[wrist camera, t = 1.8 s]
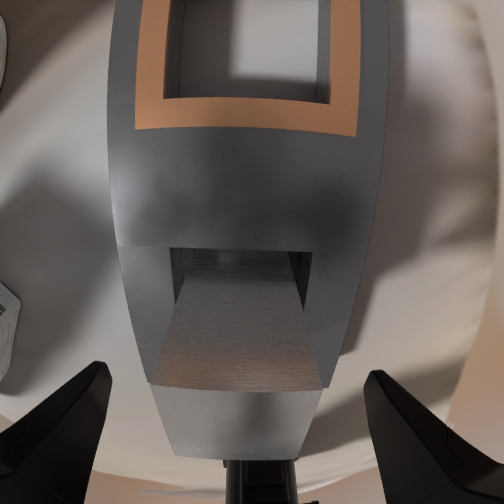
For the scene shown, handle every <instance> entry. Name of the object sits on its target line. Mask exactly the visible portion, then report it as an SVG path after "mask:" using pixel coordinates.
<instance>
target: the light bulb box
mask: <svg viewBox="0 0 504 504" xmlns="http://www.w3.org/2000/svg"><path fill="white" fill-rule="evenodd" d="M20 306H21V301H20V300H19V299H18V298H17V297H16V296H14V295H13V294H12V293H11V292H10V291H9V290H8V289H7V288H6V287H5V286H4V285H3V284H2V283H1V282H0V382H1V380H2V379H3V377H4V376H5V374H6V373H7V371H8V370H9V368H10V362H11V354H12V347H13V341H14V335H15V330H16V325H17V320H18V315H19V310H20Z"/></svg>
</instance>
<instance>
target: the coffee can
mask: <svg viewBox="0 0 504 504" xmlns="http://www.w3.org/2000/svg"><path fill="white" fill-rule="evenodd" d="M6 56H7V34H6V27H5V23H4V20H3V19H2V17H1V16H0V89H1V85H2V81H3V76H4V71H5V65H6Z"/></svg>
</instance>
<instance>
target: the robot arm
mask: <svg viewBox="0 0 504 504" xmlns="http://www.w3.org/2000/svg"><path fill="white" fill-rule="evenodd" d="M111 387H112V376H111V374H110V371H109V369H108V366H107V364H106V363H105V362H101V361H94V362H92V363H91V364H90V365H88V366H87V367H86V368H84V369H83V370H82V371H81V372H79V373H78V374H77V375H75V376H74V377H73V378H72V379H70V380H69V381H68V382H67V383H65V384H64V385H63V386H61V387H60V388H59V389H58V390H56V391H55V392H54V393H53V394H51V395H50V396H49V397H48V398H46V399H45V400H44V401H42V402H41V403H40V404H39V405H37V406H36V407H35V408H34V409H32V410H31V411H30V412H29V413H28V414H26V415H25V416H23V417H22V418H21V419H20V420H18V421H17V422H16V423H14V424H13V425H12V426H10V427H9V428H7V429H6V430H4V431H3V432H1V433H0V504H84V500H85V495H86V491H87V486H88V482H89V478H90V474H91V470H92V466H93V462H94V458H95V455H96V451H97V447H98V444H99V440H100V436H101V433H102V430H103V426H104V423H105V419H106V414H107V408H108V403H109V397H110V392H111ZM363 390H364V398H365V404H366V411H367V418H368V425H369V430H370V434H371V438H372V442H373V446H374V450H375V454H376V458H377V462H378V467H379V471H380V475H381V480H382V484H383V488H384V494H385V498H386V503H387V504H504V464H501V463H498V462H496V461H494V460H493V459H491V458H490V457H488V456H486V455H485V454H484V453H482V452H481V451H479V450H478V449H476V448H475V447H473V446H472V445H470V444H469V443H468V442H466V441H465V440H464V439H463V438H461V437H460V436H459V435H457V434H456V433H455V432H454V431H453V430H452V429H451V428H449V427H447V425H446V424H445V423H443V422H442V421H441V420H440V419H439V418H438V417H437V416H435V415H434V414H433V413H432V412H431V411H430V410H428V409H427V408H426V407H425V406H424V405H423V404H421V403H420V402H419V401H418V400H417V399H416V398H415V397H413V396H412V395H411V394H410V393H409V392H408V391H406V390H405V389H404V388H403V387H402V386H401V385H400V384H398V383H397V382H396V381H395V380H394V379H393V378H392V377H390V376H389V375H388V374H387V373H386V372H385V371H383V370H372V371H371V372H370V373H369V375H368V378H367V380H366V382H365V384H364V389H363ZM294 462H295V459H288V460H223V465H224V467H225V468H227V475H226V504H298V494H297V485H296V475H295V466H294ZM304 504H319V501H312V502H311V503H304Z"/></svg>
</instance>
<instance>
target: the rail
mask: <svg viewBox="0 0 504 504" xmlns="http://www.w3.org/2000/svg"><path fill="white" fill-rule="evenodd" d="M184 7H185V0H116V4H115V11H114V18H113V26H112V34H111V44H110V55H109V69H108V91H107V141H108V164H109V179H110V192H111V202H112V212H113V220H114V228H115V236H116V243H117V250H118V256H119V262H120V268H121V274H122V279H123V285H124V290H125V295H126V300H127V304H128V309H129V313H130V318H131V322H132V326H133V330H134V334H135V338H136V342H137V346H138V350H139V354H140V357H141V361H142V364H143V368H144V371H145V375H146V378H147V381H148V382H149V383H151V379H152V376H153V373H154V369H155V366H156V363H157V360H158V356H159V353H160V350H161V347H162V344H163V341H164V338H165V335H166V331H167V328H168V325H169V322H170V319H171V316H172V313H173V310H174V307H175V305H176V302H177V299H178V296H179V293H180V290H181V287H182V284H183V269H182V255H181V248H208V249H239V250H270V251H300V252H302V255H301V263H300V271H299V278H298V285H297V289H298V293H299V297H300V301H301V304H302V308H303V312H304V316H305V320H306V324H307V328H308V331H309V335H310V339H311V343H312V347H313V351H314V355H315V360H316V364H317V368H318V372H319V376H320V380H321V384H322V388H329V385H330V382H331V379H332V376H333V373H334V370H335V367H336V364H337V361H338V358H339V355H340V352H341V349H342V345H343V342H344V339H345V335H346V332H347V329H348V325H349V322H350V318H351V314H352V311H353V307H354V303H355V299H356V295H357V291H358V287H359V283H360V279H361V275H362V271H363V266H364V262H365V257H366V253H367V248H368V243H369V238H370V233H371V228H372V222H373V217H374V211H375V205H376V199H377V193H378V186H379V179H380V172H381V164H382V156H383V147H384V137H385V127H386V114H387V99H388V77H389V25H388V4H387V0H319V15H318V59H317V83H316V102H315V103H312V102H303V101H293V100H281V99H266V98H243V97H196V98H179V75H180V56H181V41H182V29H183V17H184Z"/></svg>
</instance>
